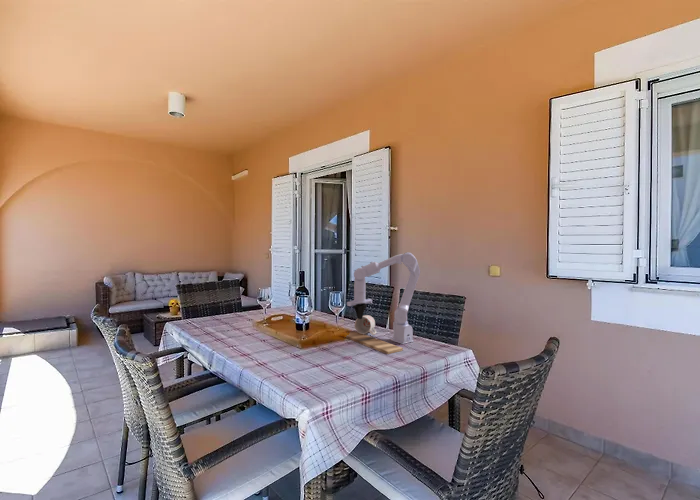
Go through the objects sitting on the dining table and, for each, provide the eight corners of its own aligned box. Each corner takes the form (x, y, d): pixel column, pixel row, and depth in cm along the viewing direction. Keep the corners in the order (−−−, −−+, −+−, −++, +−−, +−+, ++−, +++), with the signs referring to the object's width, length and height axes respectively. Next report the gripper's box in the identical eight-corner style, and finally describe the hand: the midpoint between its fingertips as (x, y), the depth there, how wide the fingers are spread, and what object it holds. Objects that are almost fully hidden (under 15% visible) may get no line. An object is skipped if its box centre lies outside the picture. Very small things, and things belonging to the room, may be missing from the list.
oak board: (402, 350, 167) (402, 347, 167) (388, 354, 161) (388, 350, 161) (374, 340, 183) (374, 337, 183) (360, 343, 177) (360, 340, 177)
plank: (373, 340, 183) (373, 337, 183) (359, 343, 178) (359, 340, 178) (354, 333, 196) (354, 330, 196) (340, 336, 191) (341, 333, 191)
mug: (356, 323, 203) (351, 326, 192) (366, 311, 202) (361, 313, 191) (373, 338, 199) (368, 341, 189) (383, 326, 198) (378, 328, 188)
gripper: (366, 289, 192) (366, 315, 192) (343, 292, 183) (343, 319, 184) (374, 291, 186) (374, 317, 187) (351, 294, 177) (351, 321, 178)
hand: (359, 318), depth 185 cm, fingers closed
